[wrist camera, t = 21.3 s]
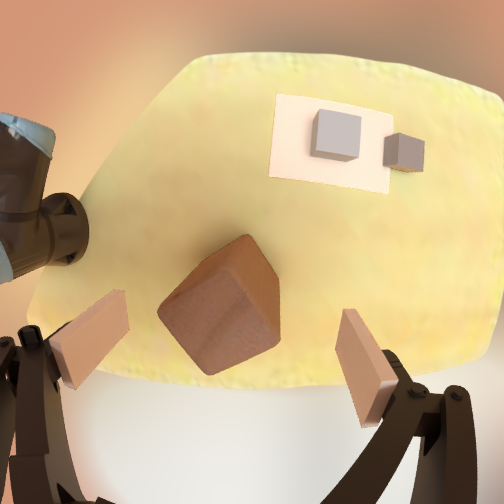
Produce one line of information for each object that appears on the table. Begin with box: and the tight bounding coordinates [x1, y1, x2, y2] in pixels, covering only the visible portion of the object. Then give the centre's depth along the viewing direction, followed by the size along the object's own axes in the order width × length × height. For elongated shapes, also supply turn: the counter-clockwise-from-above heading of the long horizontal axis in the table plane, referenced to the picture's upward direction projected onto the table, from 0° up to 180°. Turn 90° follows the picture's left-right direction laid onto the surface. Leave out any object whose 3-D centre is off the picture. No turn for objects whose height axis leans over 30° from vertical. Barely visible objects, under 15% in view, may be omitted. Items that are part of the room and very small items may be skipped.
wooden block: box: [157, 234, 280, 375], centre depth 36 cm, size 10×10×20 cm
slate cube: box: [310, 108, 362, 162], centre depth 36 cm, size 6×6×7 cm
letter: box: [269, 94, 393, 195], centre depth 40 cm, size 20×14×1 cm
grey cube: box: [383, 133, 425, 172], centre depth 37 cm, size 5×5×5 cm
